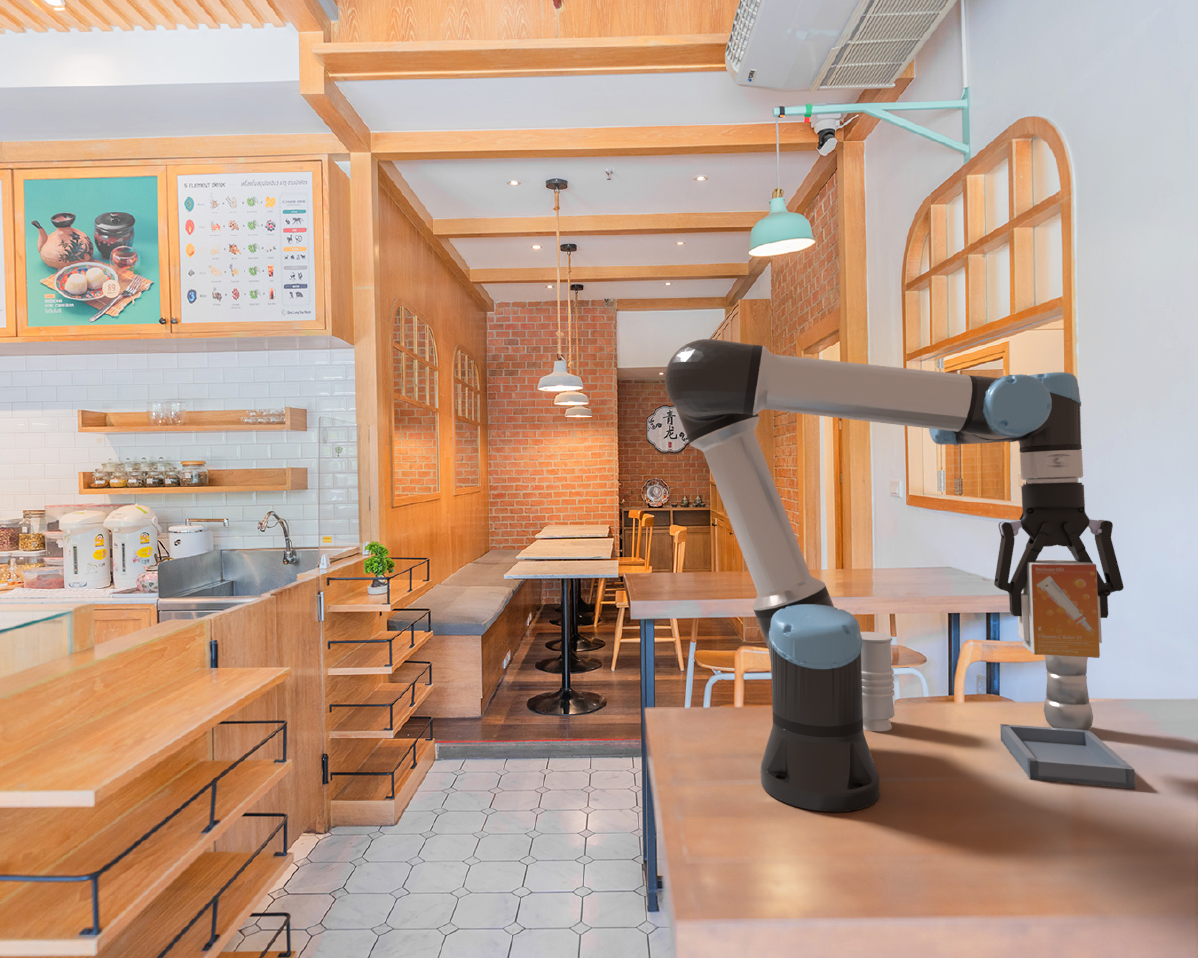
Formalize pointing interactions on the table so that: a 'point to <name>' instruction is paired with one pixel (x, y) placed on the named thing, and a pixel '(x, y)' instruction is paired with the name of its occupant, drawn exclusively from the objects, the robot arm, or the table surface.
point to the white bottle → (877, 681)
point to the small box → (1062, 608)
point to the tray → (1066, 756)
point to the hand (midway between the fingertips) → (1059, 639)
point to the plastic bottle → (1067, 693)
